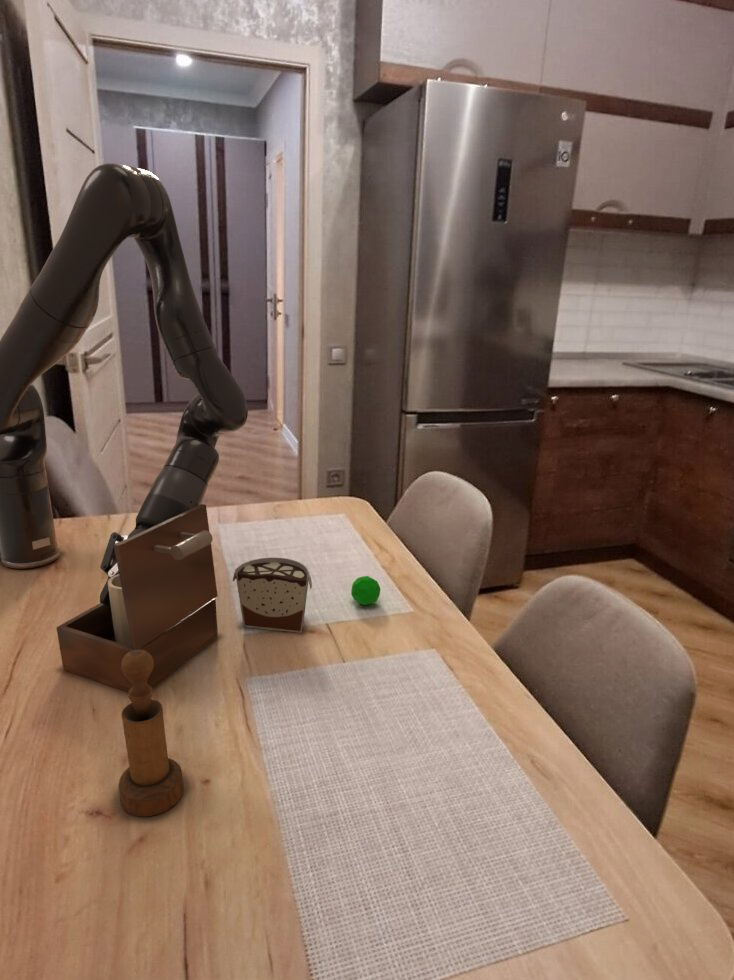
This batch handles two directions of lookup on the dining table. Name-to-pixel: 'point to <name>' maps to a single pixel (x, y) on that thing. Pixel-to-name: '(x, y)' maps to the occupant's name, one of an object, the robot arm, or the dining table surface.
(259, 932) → the dining table surface
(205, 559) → the box lid
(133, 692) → the mortar and pestle
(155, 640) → the walnut box
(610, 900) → the dining table surface
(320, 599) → the dining table surface
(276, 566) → the food container
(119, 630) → the ceramic cup
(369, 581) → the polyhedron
